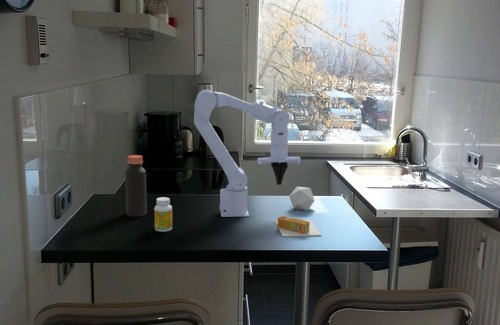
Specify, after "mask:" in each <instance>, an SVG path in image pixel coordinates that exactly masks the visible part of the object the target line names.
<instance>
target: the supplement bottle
mask: <svg viewBox="0 0 500 325" xmlns="http://www.w3.org/2000/svg"><path fill="white" fill-rule="evenodd" d="M170 199H171V198H169V197H164V196H162V197H161V196H160V197H157V198H156V205H155V206H154V208H153V210H154V230H155V231H157V232H162V233H163V232H164V233H165V232H169V231H171V230H172V229H173V206H172V205H171V204H170V203H171V200H170Z"/></svg>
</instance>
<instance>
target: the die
mask: <svg viewBox="0 0 500 325" xmlns="http://www.w3.org/2000/svg"><path fill="white" fill-rule="evenodd" d="M288 196H289V200H290V202H291V205H292V208H293V209H294V210H298V209H299V210H300V211H306V212H308V210H309V209H310V207H311V206H312V205H313V204H314V203H315V198H314V194H313V192H312V188H311V187H304V186H296V187H295V188H294V190H293V191H292V192H291V193H290V194H289V195H288Z"/></svg>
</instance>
